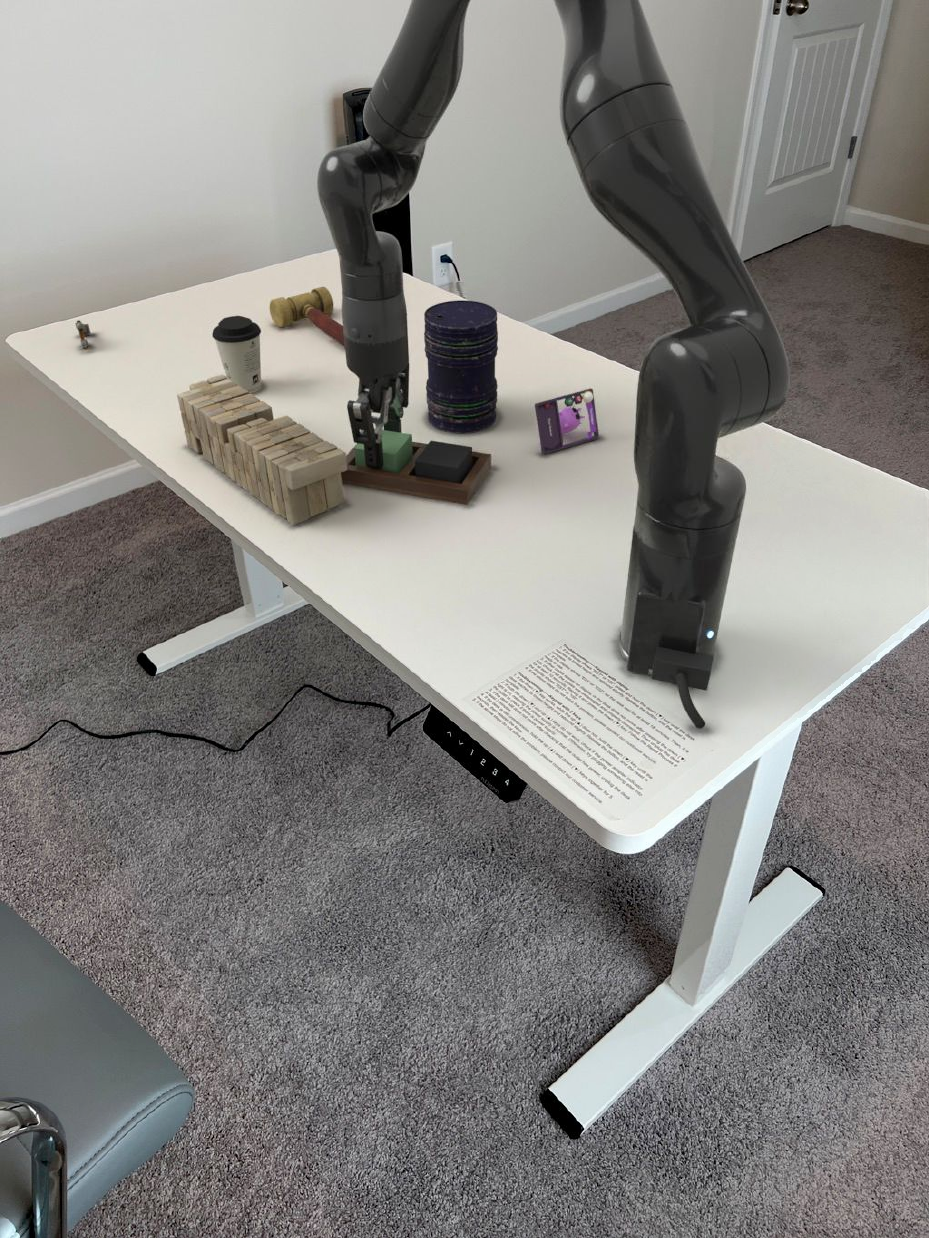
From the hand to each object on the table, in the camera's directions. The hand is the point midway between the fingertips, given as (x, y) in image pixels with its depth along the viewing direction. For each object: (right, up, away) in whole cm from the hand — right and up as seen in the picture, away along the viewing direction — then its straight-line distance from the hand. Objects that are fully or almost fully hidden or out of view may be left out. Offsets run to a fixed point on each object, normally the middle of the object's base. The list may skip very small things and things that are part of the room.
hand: (384, 455), depth 123 cm
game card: (+23, +3, +7) cm, 25 cm away
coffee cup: (-23, +13, +21) cm, 34 cm away
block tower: (-16, -2, +1) cm, 16 cm away
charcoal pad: (+8, -3, -1) cm, 8 cm away
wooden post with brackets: (-52, +24, +35) cm, 67 cm away
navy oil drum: (+10, +7, +13) cm, 18 cm away
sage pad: (0, -1, +1) cm, 1 cm away
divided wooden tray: (+4, -3, 0) cm, 5 cm away
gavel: (-12, +26, +36) cm, 46 cm away
